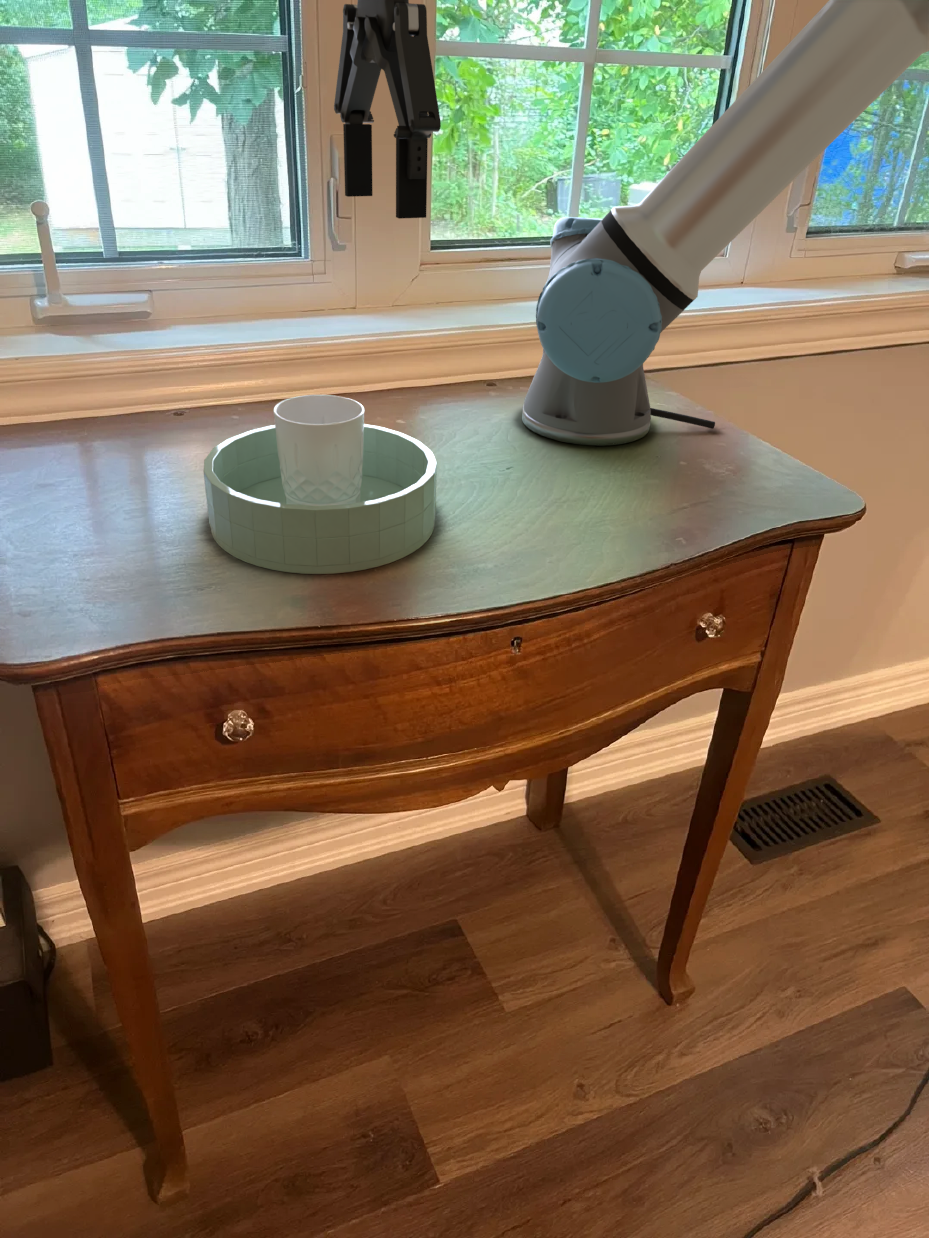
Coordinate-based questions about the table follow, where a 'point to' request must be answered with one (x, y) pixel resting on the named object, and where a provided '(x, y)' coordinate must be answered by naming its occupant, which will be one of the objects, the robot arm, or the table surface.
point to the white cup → (320, 449)
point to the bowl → (321, 535)
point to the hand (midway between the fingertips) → (383, 206)
